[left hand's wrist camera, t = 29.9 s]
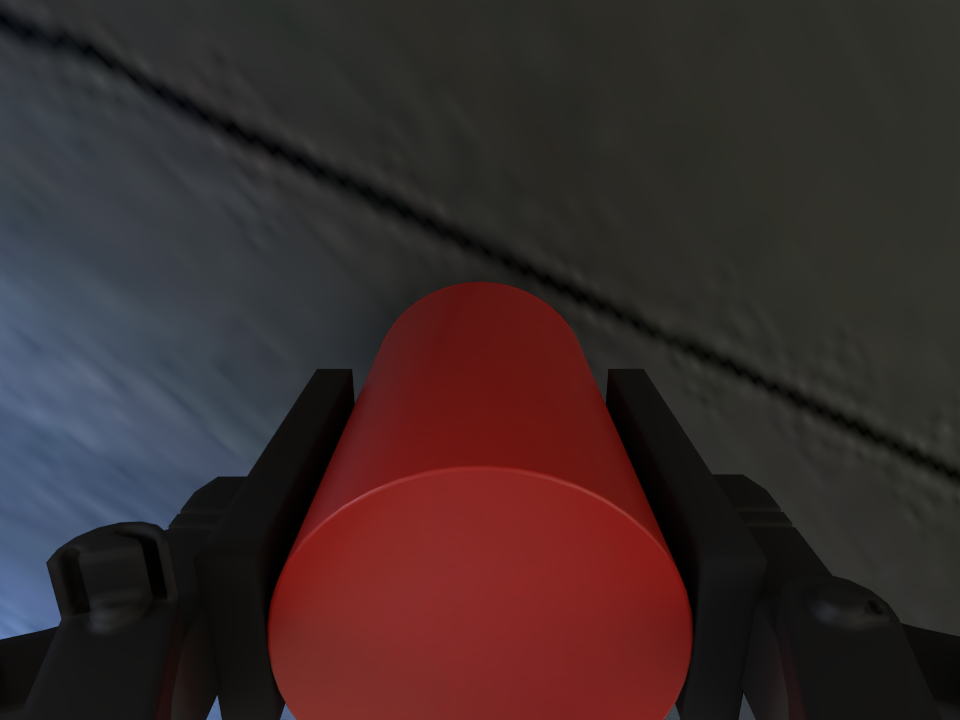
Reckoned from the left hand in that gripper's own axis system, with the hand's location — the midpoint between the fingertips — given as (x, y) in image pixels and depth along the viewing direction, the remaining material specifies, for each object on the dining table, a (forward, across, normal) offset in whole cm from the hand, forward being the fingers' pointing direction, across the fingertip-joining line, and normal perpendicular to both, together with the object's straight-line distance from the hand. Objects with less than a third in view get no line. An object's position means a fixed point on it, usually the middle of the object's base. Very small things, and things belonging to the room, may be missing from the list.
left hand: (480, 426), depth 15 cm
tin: (+3, 0, 0) cm, 3 cm away
